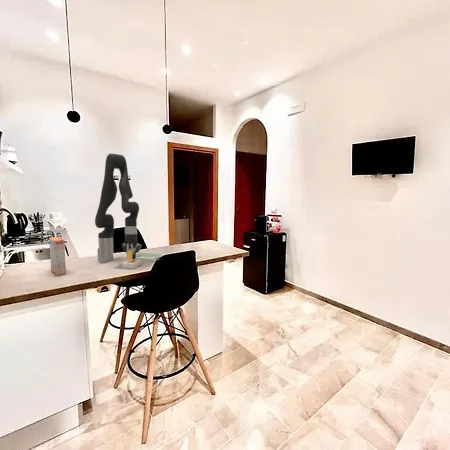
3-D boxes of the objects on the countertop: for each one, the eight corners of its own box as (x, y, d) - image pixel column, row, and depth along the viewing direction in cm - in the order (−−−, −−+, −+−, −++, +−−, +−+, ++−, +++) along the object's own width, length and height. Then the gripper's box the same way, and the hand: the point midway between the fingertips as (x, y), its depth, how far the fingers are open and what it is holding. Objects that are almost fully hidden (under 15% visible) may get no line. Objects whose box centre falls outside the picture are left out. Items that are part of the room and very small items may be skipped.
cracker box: (66, 274, 155) (64, 239, 152) (54, 276, 151) (52, 240, 148) (61, 268, 165) (60, 236, 162) (50, 270, 161) (48, 237, 158)
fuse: (126, 265, 168) (127, 250, 168) (130, 264, 173) (131, 249, 173) (131, 266, 168) (131, 250, 168) (134, 265, 173) (135, 249, 173)
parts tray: (128, 262, 184) (128, 257, 183) (139, 256, 199) (139, 252, 199) (152, 263, 181) (152, 258, 181) (161, 258, 197) (161, 253, 196)
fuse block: (112, 269, 166) (112, 263, 165) (124, 263, 180) (124, 258, 179) (133, 271, 164) (133, 264, 164) (143, 265, 178) (143, 259, 177)
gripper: (117, 233, 166) (118, 259, 168) (138, 234, 164) (139, 261, 166) (123, 231, 173) (124, 256, 176) (143, 232, 172) (144, 258, 174)
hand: (131, 258), depth 171 cm, fingers closed on fuse, 2 cm apart
